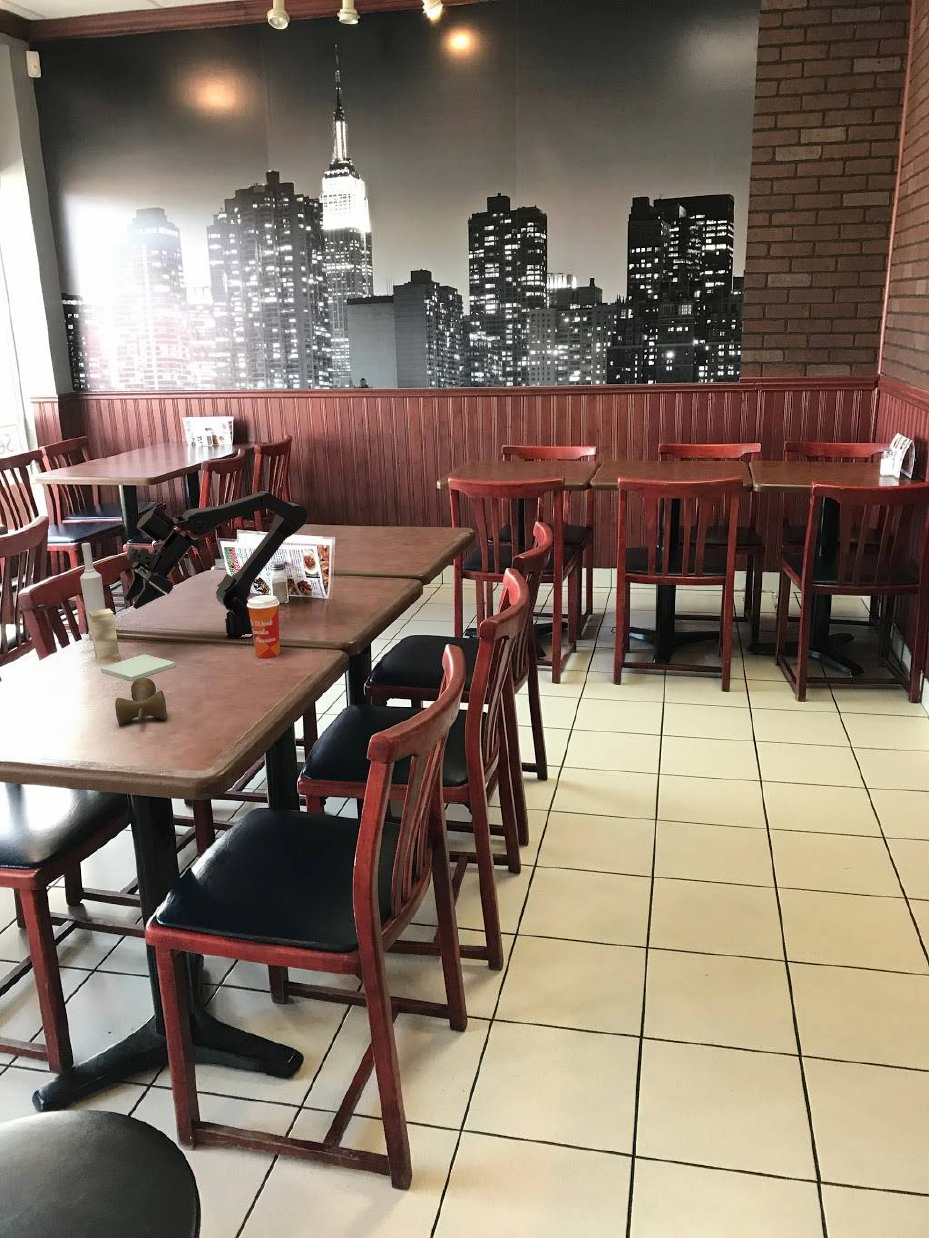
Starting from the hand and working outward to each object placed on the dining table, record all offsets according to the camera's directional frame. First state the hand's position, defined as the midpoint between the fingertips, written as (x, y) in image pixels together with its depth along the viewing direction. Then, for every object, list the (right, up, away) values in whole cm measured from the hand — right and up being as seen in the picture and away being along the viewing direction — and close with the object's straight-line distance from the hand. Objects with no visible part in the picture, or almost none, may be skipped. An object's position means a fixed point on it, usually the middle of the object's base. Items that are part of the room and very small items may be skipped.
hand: (130, 603), depth 242 cm
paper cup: (+34, -13, -1) cm, 36 cm away
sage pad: (+4, -15, -8) cm, 18 cm away
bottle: (-14, -9, +19) cm, 25 cm away
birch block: (-6, -14, 0) cm, 15 cm away
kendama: (+15, -24, -36) cm, 45 cm away
